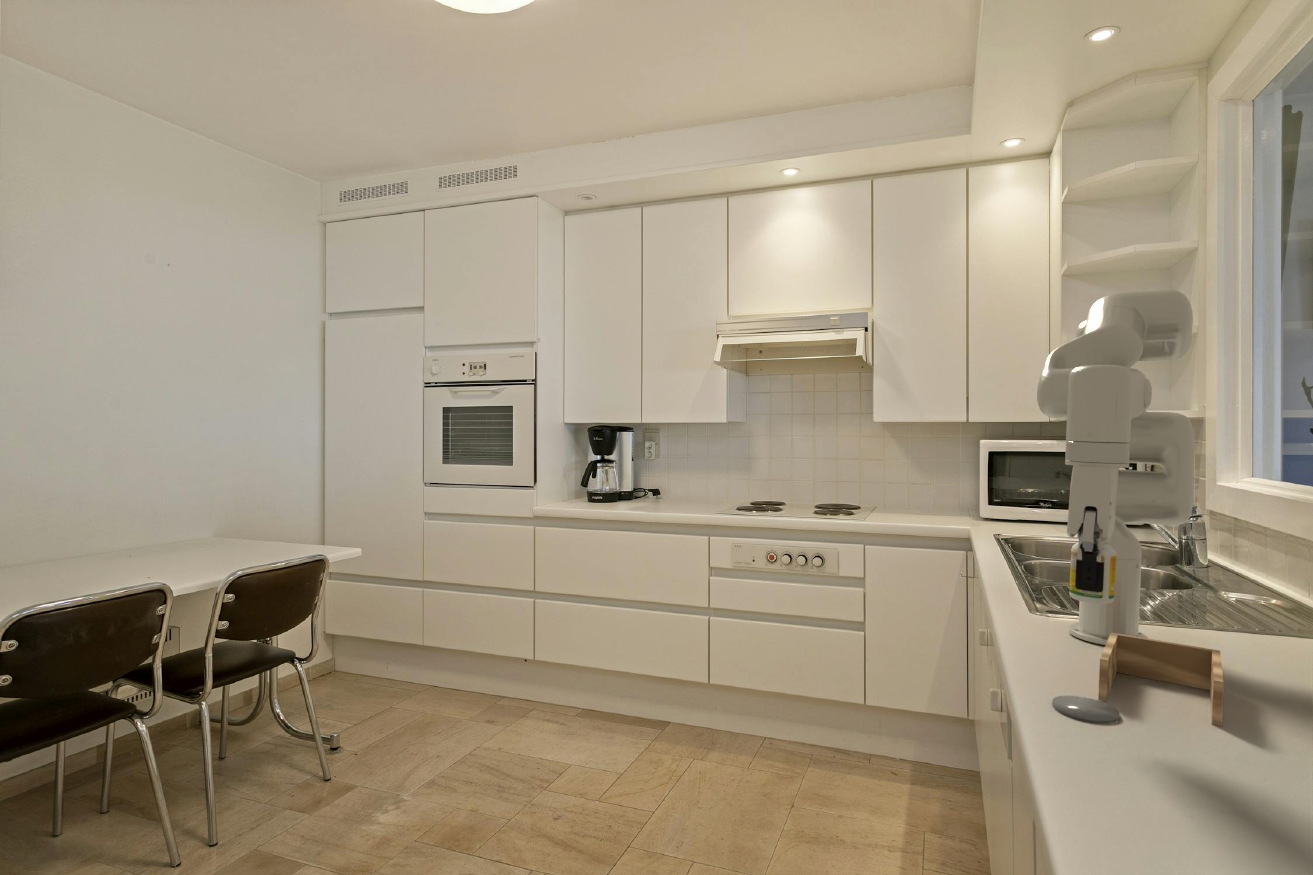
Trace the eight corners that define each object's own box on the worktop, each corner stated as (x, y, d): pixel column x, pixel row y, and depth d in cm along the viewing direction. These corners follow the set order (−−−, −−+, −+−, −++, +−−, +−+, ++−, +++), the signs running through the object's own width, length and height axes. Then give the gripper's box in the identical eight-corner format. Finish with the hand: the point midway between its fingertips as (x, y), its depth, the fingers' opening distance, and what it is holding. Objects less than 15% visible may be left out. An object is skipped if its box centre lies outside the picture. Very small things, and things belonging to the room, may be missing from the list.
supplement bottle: (1086, 604, 96) (1089, 533, 96) (1060, 594, 102) (1063, 527, 101) (1124, 604, 97) (1126, 533, 97) (1095, 594, 102) (1098, 527, 102)
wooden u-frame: (1109, 668, 117) (1111, 632, 117) (1218, 689, 109) (1220, 650, 109) (1098, 699, 104) (1099, 658, 104) (1221, 726, 95) (1223, 681, 95)
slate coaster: (1056, 695, 105) (1057, 691, 105) (1121, 709, 100) (1122, 705, 100) (1047, 712, 99) (1048, 707, 99) (1116, 728, 94) (1116, 723, 94)
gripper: (1073, 452, 108) (1069, 572, 108) (1056, 455, 94) (1051, 593, 95) (1133, 455, 103) (1128, 580, 104) (1124, 458, 90) (1118, 603, 90)
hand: (1091, 585), depth 99 cm, fingers closed on supplement bottle, 5 cm apart
